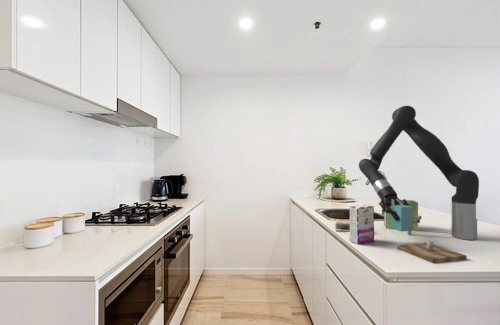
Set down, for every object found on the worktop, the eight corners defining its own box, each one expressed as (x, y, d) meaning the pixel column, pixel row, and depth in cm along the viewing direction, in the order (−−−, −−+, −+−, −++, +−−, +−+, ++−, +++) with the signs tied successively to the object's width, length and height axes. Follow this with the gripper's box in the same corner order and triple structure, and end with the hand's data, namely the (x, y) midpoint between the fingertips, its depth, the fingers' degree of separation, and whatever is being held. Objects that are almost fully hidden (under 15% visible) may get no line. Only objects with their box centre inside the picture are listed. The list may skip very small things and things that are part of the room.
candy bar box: (365, 238, 121) (365, 204, 121) (374, 241, 117) (374, 205, 117) (348, 241, 116) (348, 205, 116) (357, 244, 112) (358, 207, 112)
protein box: (418, 231, 135) (418, 202, 136) (386, 228, 141) (386, 200, 141) (413, 227, 145) (413, 200, 145) (383, 224, 151) (383, 198, 151)
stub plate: (427, 246, 110) (427, 235, 110) (466, 259, 95) (466, 247, 95) (397, 248, 107) (397, 238, 107) (432, 263, 91) (432, 250, 91)
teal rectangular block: (401, 227, 118) (401, 204, 118) (412, 230, 112) (412, 206, 112) (390, 228, 117) (390, 205, 117) (401, 231, 111) (401, 207, 111)
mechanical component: (422, 236, 126) (422, 216, 126) (399, 234, 128) (399, 215, 129) (419, 234, 129) (419, 214, 129) (397, 233, 131) (397, 214, 131)
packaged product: (335, 223, 134) (335, 219, 143) (335, 232, 134) (335, 228, 143) (372, 226, 128) (370, 222, 137) (372, 235, 128) (370, 230, 137)
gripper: (375, 185, 120) (395, 215, 109) (400, 185, 124) (423, 214, 112) (368, 195, 125) (386, 225, 114) (392, 194, 129) (412, 223, 117)
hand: (404, 219), depth 113 cm, fingers closed on teal rectangular block, 6 cm apart
